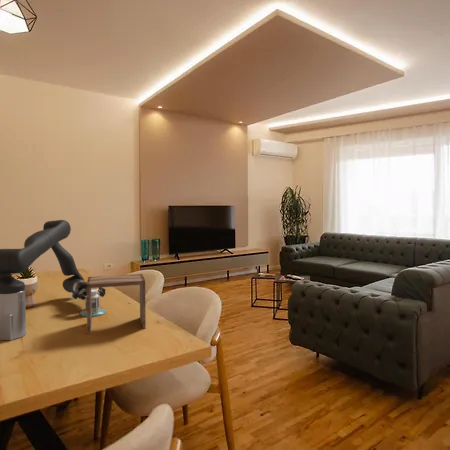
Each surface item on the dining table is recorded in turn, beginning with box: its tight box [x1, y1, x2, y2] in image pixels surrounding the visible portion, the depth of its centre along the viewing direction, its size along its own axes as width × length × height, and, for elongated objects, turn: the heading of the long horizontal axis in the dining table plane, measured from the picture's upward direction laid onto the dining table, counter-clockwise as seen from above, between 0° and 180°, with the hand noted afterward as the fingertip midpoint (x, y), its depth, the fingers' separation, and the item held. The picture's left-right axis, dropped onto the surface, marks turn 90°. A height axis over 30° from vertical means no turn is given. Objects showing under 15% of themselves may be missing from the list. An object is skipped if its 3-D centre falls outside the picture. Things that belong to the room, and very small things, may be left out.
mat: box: [79, 307, 107, 318], centre depth 162 cm, size 11×11×1 cm
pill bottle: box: [85, 289, 100, 313], centre depth 161 cm, size 6×6×10 cm
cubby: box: [86, 273, 147, 335], centre depth 145 cm, size 14×22×20 cm, turn 108°
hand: (93, 296), depth 161 cm, fingers open, 8 cm apart
